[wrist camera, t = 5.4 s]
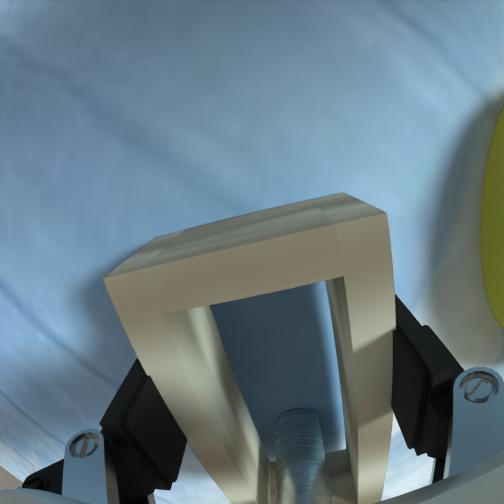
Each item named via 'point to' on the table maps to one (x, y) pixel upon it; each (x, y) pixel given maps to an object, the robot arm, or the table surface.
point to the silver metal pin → (300, 459)
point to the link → (253, 284)
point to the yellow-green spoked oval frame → (494, 223)
